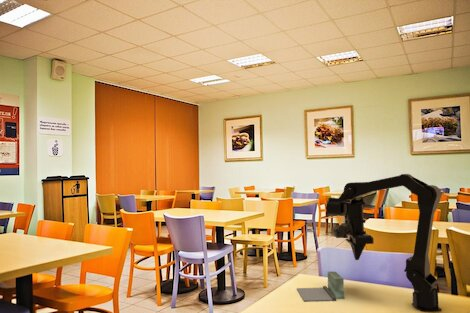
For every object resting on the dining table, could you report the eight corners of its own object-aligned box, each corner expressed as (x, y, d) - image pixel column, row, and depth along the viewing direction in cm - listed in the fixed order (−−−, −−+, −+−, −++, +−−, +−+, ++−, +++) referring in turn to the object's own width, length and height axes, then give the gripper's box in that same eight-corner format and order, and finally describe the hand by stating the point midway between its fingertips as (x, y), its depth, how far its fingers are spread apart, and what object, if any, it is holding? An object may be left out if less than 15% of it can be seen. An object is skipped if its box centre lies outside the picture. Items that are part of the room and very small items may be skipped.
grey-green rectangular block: (336, 290, 138) (335, 271, 139) (344, 299, 128) (343, 278, 129) (328, 290, 138) (327, 271, 139) (335, 299, 128) (335, 278, 129)
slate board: (326, 288, 140) (325, 285, 140) (336, 300, 126) (336, 297, 126) (296, 289, 140) (296, 286, 140) (303, 301, 126) (303, 298, 126)
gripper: (326, 214, 144) (328, 255, 143) (340, 219, 126) (342, 266, 125) (355, 214, 144) (356, 254, 143) (373, 219, 126) (375, 265, 125)
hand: (356, 259), depth 134 cm, fingers closed
